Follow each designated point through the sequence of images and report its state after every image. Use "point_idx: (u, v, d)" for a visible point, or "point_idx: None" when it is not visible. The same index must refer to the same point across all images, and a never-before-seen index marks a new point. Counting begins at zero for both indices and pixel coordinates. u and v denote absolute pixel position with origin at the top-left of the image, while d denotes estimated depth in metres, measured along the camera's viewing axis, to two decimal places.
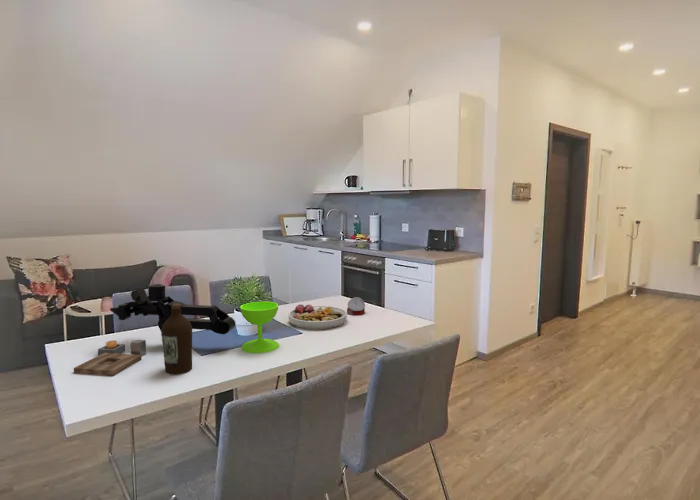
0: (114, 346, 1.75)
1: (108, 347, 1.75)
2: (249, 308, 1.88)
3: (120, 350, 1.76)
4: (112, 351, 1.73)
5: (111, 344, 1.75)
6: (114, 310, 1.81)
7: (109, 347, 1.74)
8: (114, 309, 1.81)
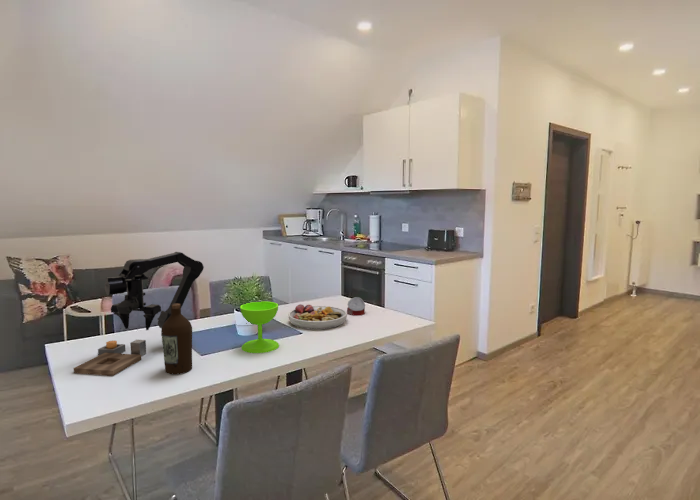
0: (114, 346, 1.75)
1: (108, 347, 1.75)
2: (249, 308, 1.88)
3: (120, 350, 1.76)
4: (112, 351, 1.73)
5: (111, 344, 1.75)
6: (149, 323, 1.72)
7: (109, 347, 1.74)
8: (148, 323, 1.72)
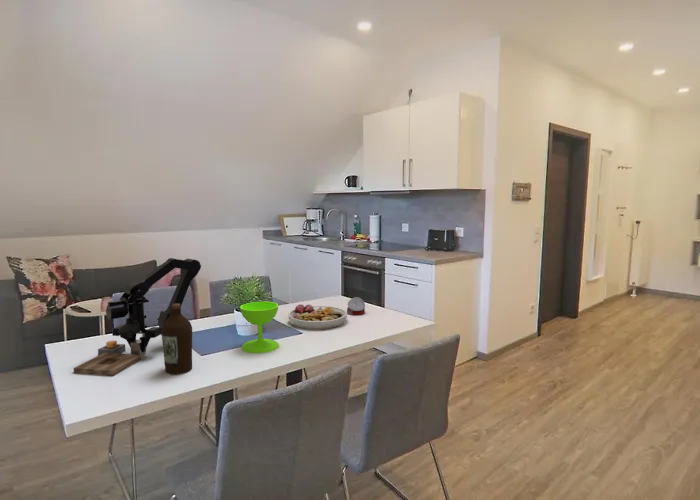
0: (114, 346, 1.75)
1: (108, 347, 1.75)
2: (249, 308, 1.88)
3: (120, 350, 1.76)
4: (112, 351, 1.73)
5: (111, 344, 1.75)
6: (145, 346, 1.74)
7: (109, 347, 1.74)
8: (144, 346, 1.74)
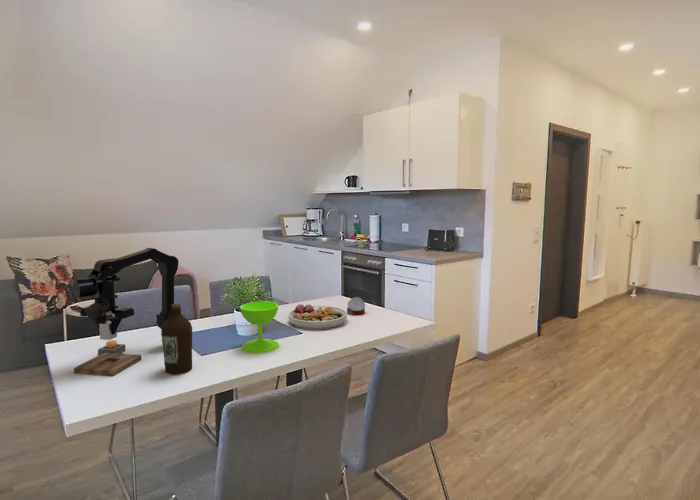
0: (114, 346, 1.75)
1: (108, 347, 1.75)
2: (249, 308, 1.88)
3: (120, 350, 1.76)
4: (112, 351, 1.73)
5: (111, 344, 1.75)
6: (115, 327, 1.62)
7: (109, 347, 1.74)
8: (114, 328, 1.62)
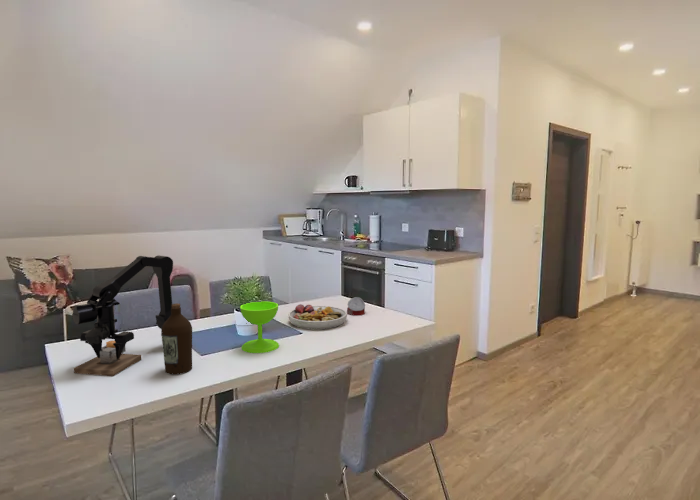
0: (114, 346, 1.75)
1: None
2: (249, 308, 1.88)
3: None
4: None
5: (111, 344, 1.75)
6: (120, 352, 1.62)
7: (109, 347, 1.74)
8: (119, 352, 1.62)
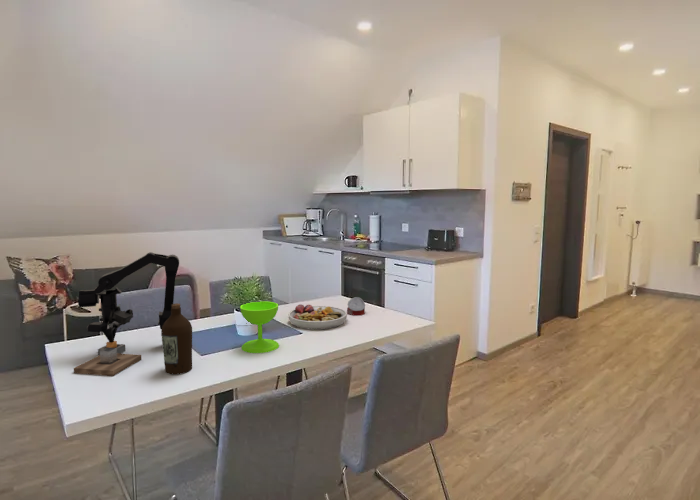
0: (114, 346, 1.75)
1: None
2: (249, 308, 1.88)
3: (120, 350, 1.76)
4: None
5: (111, 344, 1.75)
6: None
7: (109, 347, 1.74)
8: None
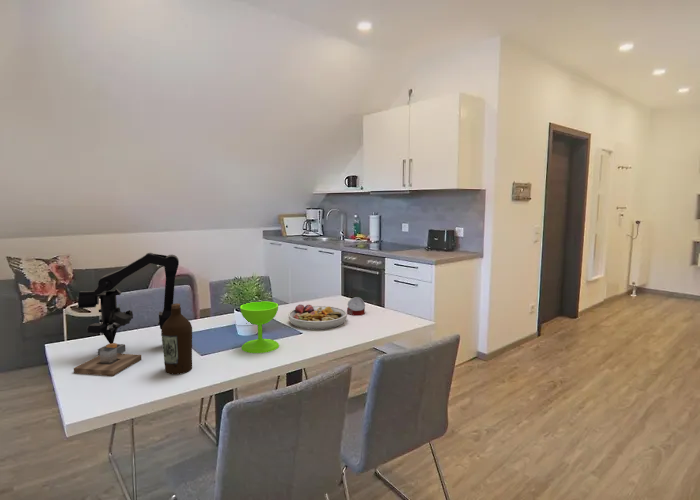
0: None
1: None
2: (249, 308, 1.88)
3: (120, 350, 1.76)
4: None
5: (111, 347, 1.75)
6: None
7: None
8: None
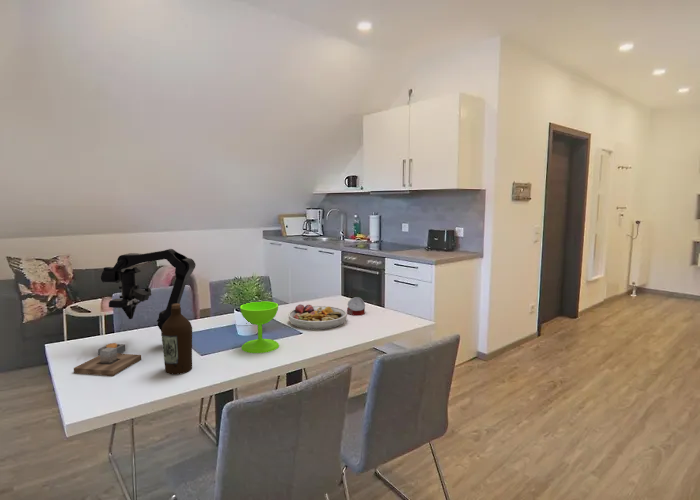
0: None
1: None
2: (249, 308, 1.88)
3: (120, 350, 1.76)
4: None
5: (111, 347, 1.75)
6: None
7: None
8: None
